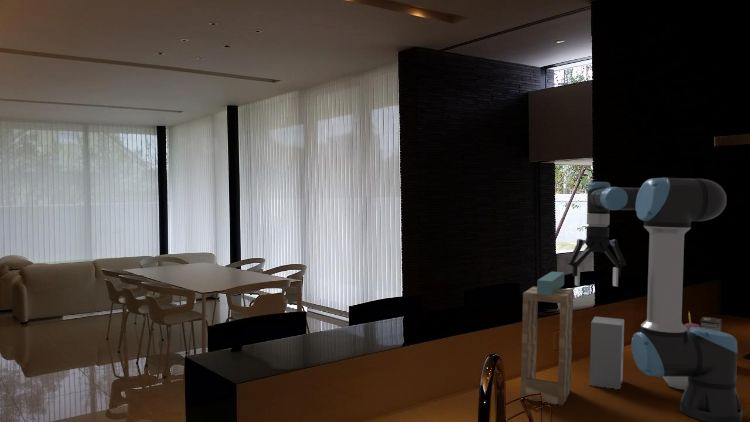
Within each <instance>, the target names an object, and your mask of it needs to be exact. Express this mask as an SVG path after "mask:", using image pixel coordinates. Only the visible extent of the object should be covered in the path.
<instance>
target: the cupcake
mask: <svg viewBox="0 0 750 422" xmlns="http://www.w3.org/2000/svg"><path fill="white" fill-rule="evenodd" d="M687 315H688V321H689V322H687V323H683V325H684V326H685V327H686V328H687V333H689V329H690V328H691V327H700V324H698V323H695V322H694V323H693V322H692V318H691V313H690V312H688V314H687Z"/></svg>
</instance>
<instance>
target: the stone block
mask: <svg viewBox="0 0 750 422" xmlns="http://www.w3.org/2000/svg"><path fill="white" fill-rule="evenodd" d="M624 341H625V319H623V318H615V317H614V318H613V317H603V316H594V317H593V319H592V320H591V322H590V352H589V354H590V355H589V356H590V357H589V358H590V359H589V360H590V361H589V386H590V385H591V387H597V386H598V388H604V387H606V389H611V388H614V389H613V390H618V389H620V388H622V385H621V384H623V379H624V378H623V376H624V375H623V374H624V373H623V370H624V343H625V342H624ZM620 390H621V389H620Z"/></svg>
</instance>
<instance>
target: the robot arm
mask: <svg viewBox="0 0 750 422" xmlns="http://www.w3.org/2000/svg"><path fill="white" fill-rule="evenodd" d="M586 194H587V195H586V196H587V197H586V198H587V202H586V206H587V207H586V225H587V226H586V232H585V233H586V234H585V235H586V238H585V239H581V238H577V240H576V245H575V247H574V249H573V251H572V253H571V255H570V257H569V258H568V261H567V262H566V263H567V265H569V266H571V267H572V276H573V277H574V286H576V287H580V285H581V284H580V282H581V281H580V279H581V268H580V265H581V264H582V263H583V261H584V260H585V259H586V258H587V256H589V254H591V253H604V254H605V255H606V256H607V257H608V259H609V260H610V261H611V263H612V264H613V265H614V267H612V286H613V287H619V278H620V277H621V276H622V274H621V272H622V268H623V267H626V266H627V264H628V263H627V262H626V260H625V257H624V255H623V253H622V251H621V249H620V246H619V240H617V239H611V240H610V227H609V226H610V217H611V215H610V211H620V210H621V211H635V212H636V216H637V218H638V220H640V221H643V228H644V229H645V230H646V231H647V232H648V233H649V237H648V238H649V239H648V241H649V242H648V267H647V268H648V272H647V273H648V274H647V303H646V305H647V306H646V320H644V321H643V322H642V323H641V324H640V331H637V332H635V333H634V334H633V335H632V338H631V341H630V342H631V344H630V345H631V353H632V358H633V360H634V363H635V365H636V367H637V368H638V370H639V371H640V372H641V373H642V374H644V375H645V376H648V377H658V378H663V377H688V384H687V386H686V388H685V390H683V391H684V392H683V394H682V396H681V399H680V400H679V401H680V402H679V410H680V412H682V414H684V415H685V416H687V417H690V418H692V419H695V420H699V421H701V422H702V421H703V422H742V421H743V417H744V415H743V414H744V413H743V408H742V405H741V402H740V398H739V395H738V392H737V365H738V364H737V363H738V354H739V351H738V340H737V339H736V337H735V336H733V335H732V334H730V333H728V332H723V331H722V330H721V331H717V330H712V329H707V328H701V327H691V328H690V329H689V333H687V328H686V327H685V326H684V323H683V322H682V320H683V319H682V315H683V312H682V311H683V290H684V289H683V284H684V254H685V253H684V249H685V235H686V233H687V232H689V231H690V230H691V229H692V227H691V226H692V222H705V221H709V220H712V219H714V218H716V217H718V216H720V214H722V212H723V211H724V210H725V208H726V206H727V201H728V200H727V194H726V192H725V190H724V189H723V187H722V186H721V185H720V184H719V183H717V182H715V181H714V180H710V179H708V178H707V179H705V178H685V177H683V178H681V177H680V178H679V177H664V176H663V177H656V178H655V177H654V178H649V179H646V180H645V181H644V182H643V183H642V185H641V187H619V186H611V183H610V182H607V181H591V182H589V183H588V184H587V191H586ZM584 245H586V247H585V248H584V250H583V251H582V253H580V251H581V250H582V247H583V246H584ZM609 245H610V246H611V247H612V249H613V251H614V253H615V255H614V254H613V253H612V252H611V250H610V248H608V247H609ZM579 253H580V254H579ZM578 255H579V256H578Z"/></svg>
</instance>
